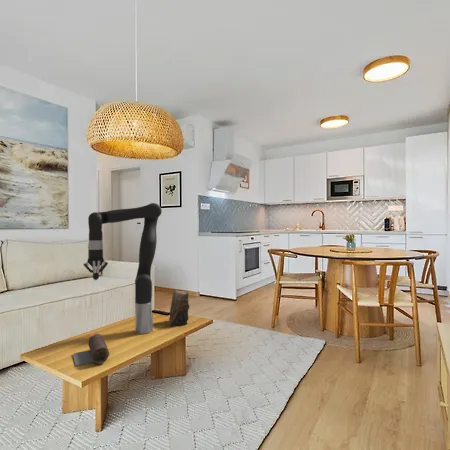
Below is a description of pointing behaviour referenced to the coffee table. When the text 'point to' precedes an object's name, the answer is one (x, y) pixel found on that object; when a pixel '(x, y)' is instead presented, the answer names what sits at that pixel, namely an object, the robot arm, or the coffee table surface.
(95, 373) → the coffee table surface
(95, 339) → the reddish brown cylinder
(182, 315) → the dark brown rough block
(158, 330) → the coffee table surface
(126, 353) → the coffee table surface
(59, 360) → the coffee table surface
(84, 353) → the mat
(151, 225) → the robot arm
